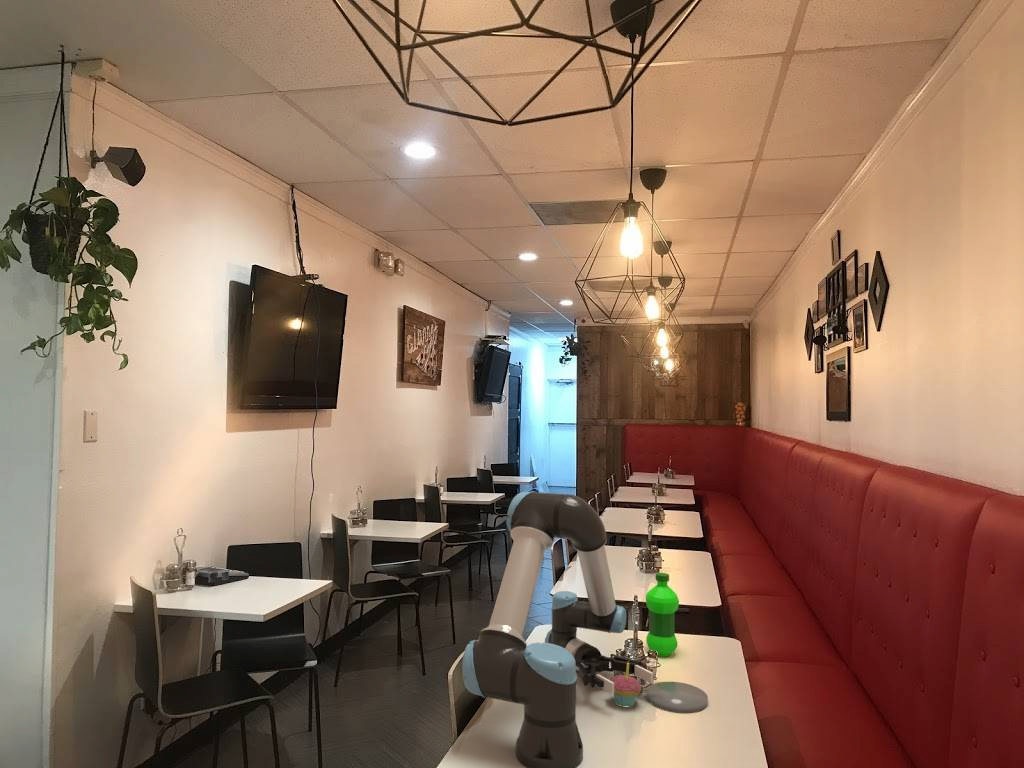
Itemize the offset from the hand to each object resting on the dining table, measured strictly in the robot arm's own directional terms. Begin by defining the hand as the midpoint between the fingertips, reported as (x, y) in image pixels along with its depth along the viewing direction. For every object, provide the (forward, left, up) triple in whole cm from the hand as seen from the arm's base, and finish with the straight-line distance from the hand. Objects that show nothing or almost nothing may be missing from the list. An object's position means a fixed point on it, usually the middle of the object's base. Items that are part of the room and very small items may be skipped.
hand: (633, 683), depth 178 cm
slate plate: (+14, -2, -7) cm, 16 cm away
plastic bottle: (+34, +25, -7) cm, 43 cm away
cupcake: (0, +3, -7) cm, 8 cm away
